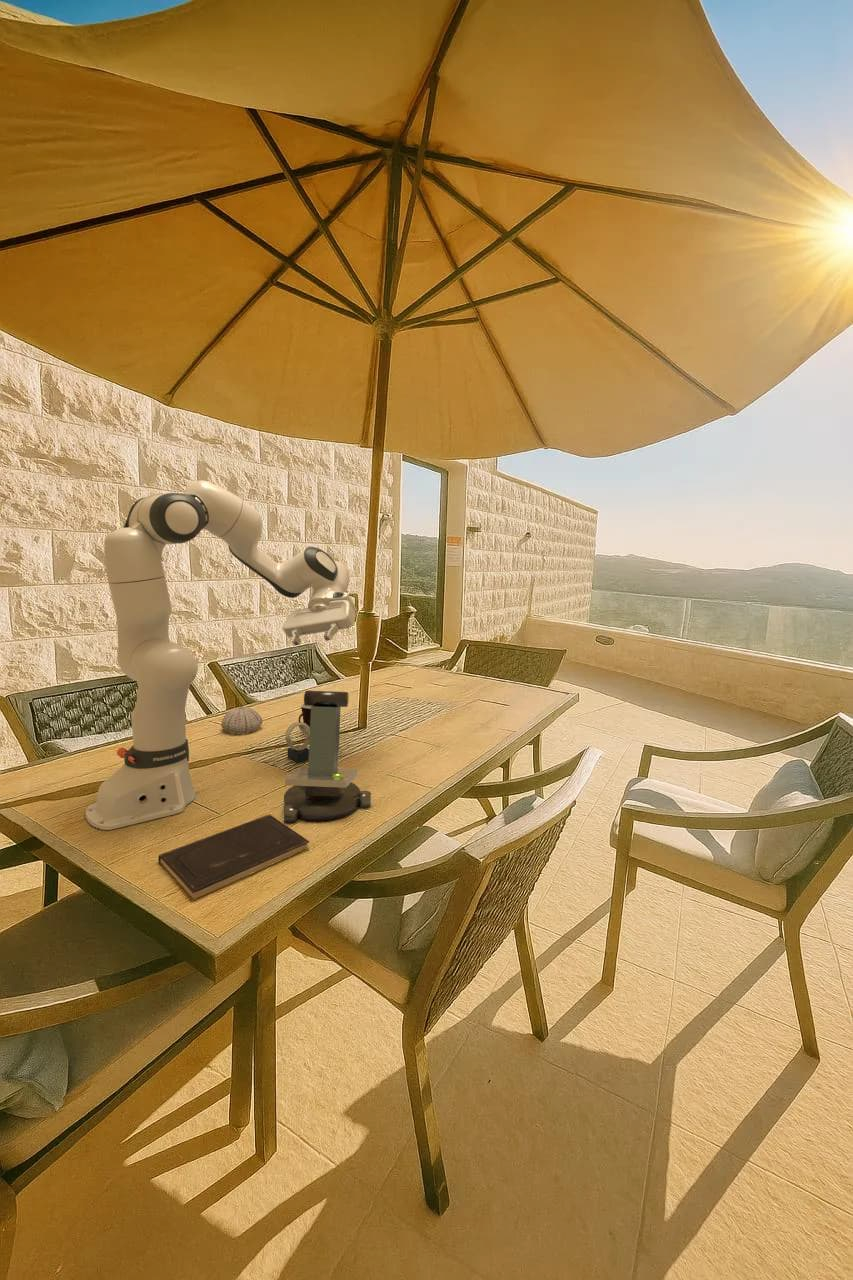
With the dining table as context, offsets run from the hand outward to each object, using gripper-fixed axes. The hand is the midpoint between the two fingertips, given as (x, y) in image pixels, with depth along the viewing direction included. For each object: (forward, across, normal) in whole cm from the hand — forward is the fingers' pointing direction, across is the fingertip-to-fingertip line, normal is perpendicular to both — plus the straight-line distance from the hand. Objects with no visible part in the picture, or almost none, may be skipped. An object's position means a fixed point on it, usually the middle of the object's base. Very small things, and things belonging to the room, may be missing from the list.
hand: (311, 641), depth 132 cm
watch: (+14, -17, +33) cm, 40 cm away
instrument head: (+31, +4, +17) cm, 35 cm away
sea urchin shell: (-3, -48, +39) cm, 62 cm away
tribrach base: (+34, +4, +22) cm, 41 cm away
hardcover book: (+54, -3, +6) cm, 54 cm away
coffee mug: (-3, -24, +45) cm, 51 cm away
